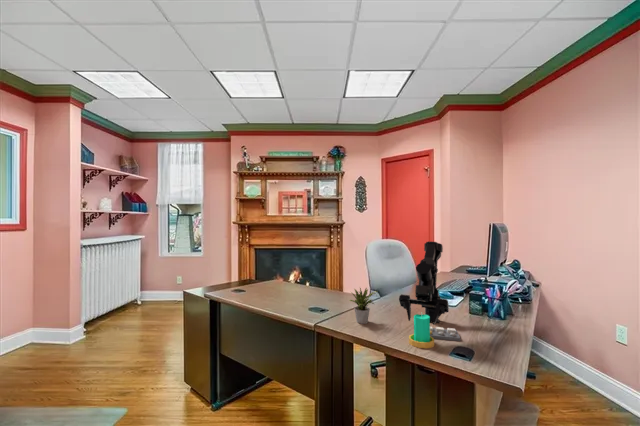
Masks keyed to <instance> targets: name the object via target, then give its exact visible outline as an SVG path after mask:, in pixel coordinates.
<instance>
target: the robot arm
mask: <svg viewBox="0 0 640 426" xmlns="http://www.w3.org/2000/svg"><path fill="white" fill-rule="evenodd" d="M423 249H424V252H425V253H424V257H423V259H421V260H420V262H419V263H418V264H416V266H415V271H416V276H417V279H418V284H416V285H415V296H414V297H415V298H416V299H415V298H411V297H410V294H409V295H408V294H401V293H400V295H399V297H398V301H399V305H400V307H401V308H403V309H405V310H406V313H407V314H406V315H407V319H408V321H409V322H411V316H412V315H411V314H412V308H411V306H412V305H420V306H421V309H422V308H424V314H425V315H428V316H430V323H433V324H432V325H434V326H435V325H436V324H439V323H440V320H439V318H440V317H441V316H442V314H443V315H444V314H446V313H449V311H450V308H449V306H450V305H449V301H448V299H447V298H442V297H441V296H440V293H439V290H438V288H437V277H438V276H437V274H438V272H439V268H438V261H439V260H440V259H441V258H442V253H443V252H444V251H443V250H444V246H443V244H442V243H439V242H437V241H426V242H425V243H424V248H423Z"/></svg>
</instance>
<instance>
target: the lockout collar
mask: <svg viewBox="0 0 640 426" xmlns="http://www.w3.org/2000/svg"><path fill="white" fill-rule="evenodd" d="M408 344H409V345H411V346H412V347H415V348H418V349H432V348H434V347H435V339H434V338H432V337H431V336H430V342H418V341H414V333H412V334H410V335H408Z"/></svg>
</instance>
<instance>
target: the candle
mask: <svg viewBox="0 0 640 426" xmlns="http://www.w3.org/2000/svg"><path fill="white" fill-rule="evenodd" d="M430 327H431V322H430V316H428V315H425V313H424V314H423V313H422V314H419V313H417V314H414V315H413V334H414V341H418V342H430Z"/></svg>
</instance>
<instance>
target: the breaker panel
mask: <svg viewBox="0 0 640 426" xmlns="http://www.w3.org/2000/svg"><path fill="white" fill-rule="evenodd" d="M430 336H431V337H432V338H434V340H435V339H436V340H445V341H454V342H455V341H456V342H461V336H460V335H459V332H458V330H456V328H451V327H447V328H444V327H443V326H442V327H439V326H435V327H433V326H430Z"/></svg>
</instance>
